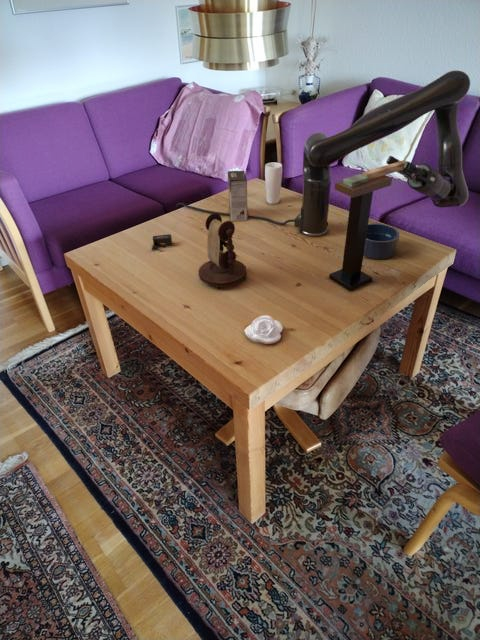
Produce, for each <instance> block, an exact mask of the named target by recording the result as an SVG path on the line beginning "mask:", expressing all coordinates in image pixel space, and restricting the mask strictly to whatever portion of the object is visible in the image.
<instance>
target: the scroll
mask: <svg viewBox="0 0 480 640" xmlns="http://www.w3.org/2000/svg"><path fill="white" fill-rule="evenodd" d="M205 228H206V231H207V258H208V261H206V262H203V264H201V265H200V267H199V268H198V277H199V280H201V282H202V283H205V284H207V285H209V286H214V287H216V288H217V290H220V289H221V287H229V286H233V285H237V284H239V283H241V282H242V281H243V280H245V279H246V277H247V271H248V269H247V266H246V264H244V263H243V262H241V261H240V260H238V259H237V253H236V252H235V251H234V250H235V246H234V244H233V243H234V241H233V237H234V236H233V235H234V233H235V230H236V226H235V223H234V221H231V220H226V221H223V218H222V215H219V214H218V213H213V214H212V213H210V214H209V215H208V216H207V218H206V220H205ZM225 248H226V251H224V249H225Z"/></svg>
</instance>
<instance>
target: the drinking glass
mask: <svg viewBox="0 0 480 640" xmlns="http://www.w3.org/2000/svg"><path fill="white" fill-rule="evenodd" d="M264 181H265V182H264V183H265V196H266V197H265V199H266V200H265V201H266V203H267V204H270V205H276V204H279V203H280V200H281V198H280V197H281V190H282V182H283V164H282V163H280V162H268V163H265V165H264Z"/></svg>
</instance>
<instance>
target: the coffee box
mask: <svg viewBox="0 0 480 640" xmlns="http://www.w3.org/2000/svg"><path fill="white" fill-rule="evenodd" d="M247 178H248V177H247V176H246V173H245V170H228V171H227V189H228V190H227V191H228V209H229V212H228V213H229V214H230V216H229V217H230V221H231V222H240V221H248V218H247V216H248V179H247Z"/></svg>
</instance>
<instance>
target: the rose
mask: <svg viewBox="0 0 480 640" xmlns="http://www.w3.org/2000/svg"><path fill="white" fill-rule="evenodd" d="M282 331H283V324H282V323H281V322H280V321H279V320H276V319H274V318H273V317H272V316H271V315H260V316H258V317H256V318H255V319H253V321H252V322H251V324H249V325H248V326H247V327H245V329H244V334H245V335H246V338H249V340H251V341H252V342H254V343H261V344H265V345H272V344H275V343H277V342H279V341H280V340H281V337H282V335H281V333H282Z"/></svg>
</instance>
